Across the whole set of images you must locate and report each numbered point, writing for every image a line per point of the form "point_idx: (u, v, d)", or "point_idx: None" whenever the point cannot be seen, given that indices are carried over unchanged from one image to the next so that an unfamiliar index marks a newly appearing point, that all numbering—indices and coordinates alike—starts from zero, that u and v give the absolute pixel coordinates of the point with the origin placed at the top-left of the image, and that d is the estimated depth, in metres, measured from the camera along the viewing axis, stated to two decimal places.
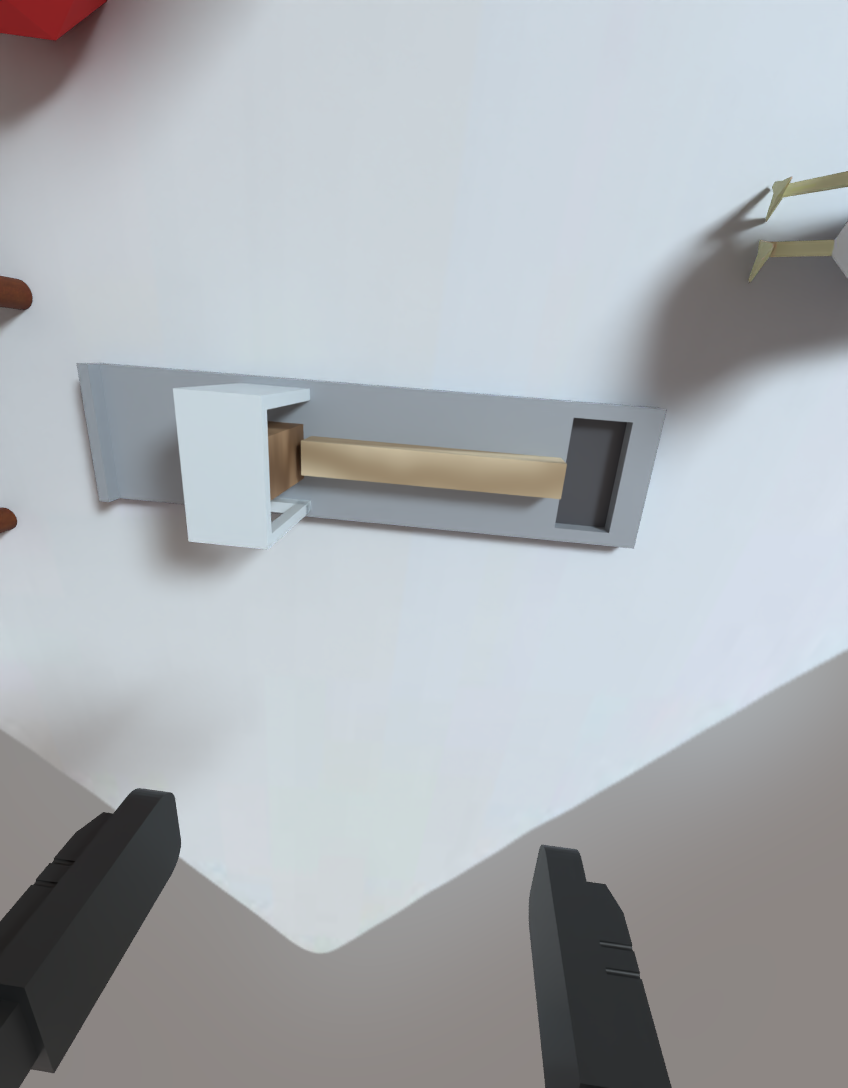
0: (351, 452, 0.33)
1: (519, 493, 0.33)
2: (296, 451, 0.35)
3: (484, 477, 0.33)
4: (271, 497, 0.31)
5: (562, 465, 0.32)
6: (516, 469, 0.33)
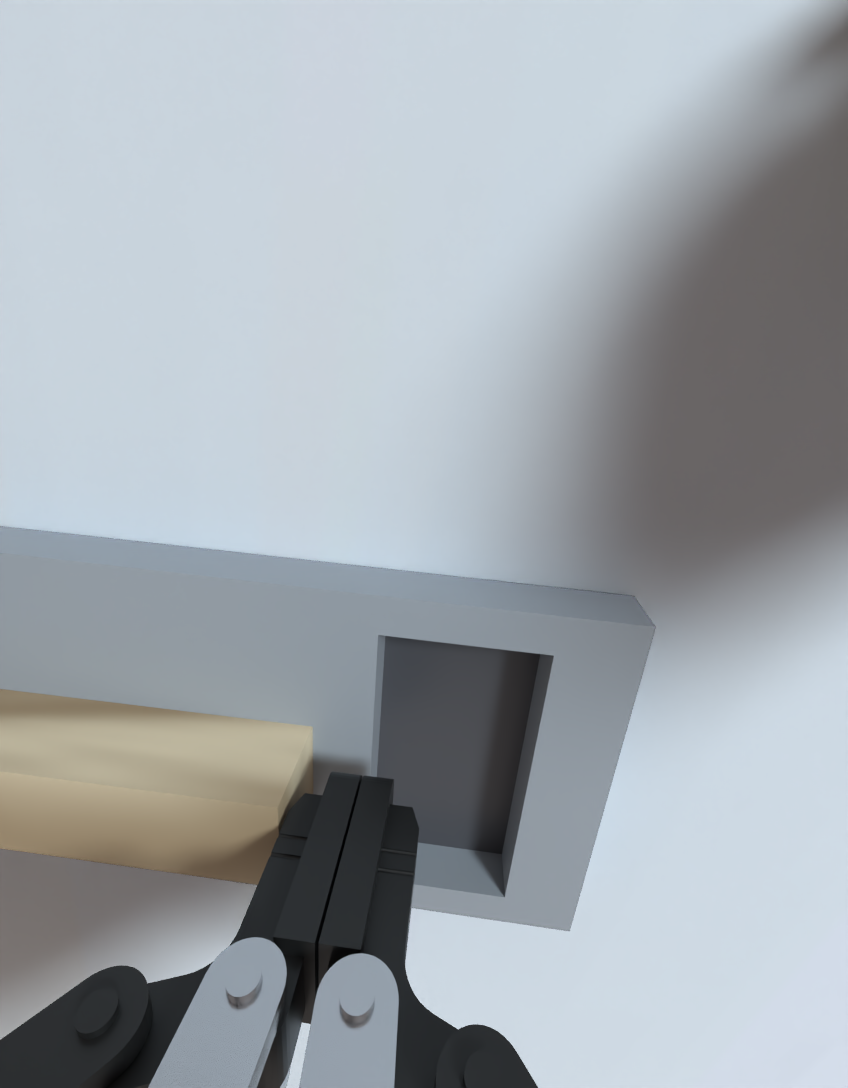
0: None
1: (159, 865, 0.11)
2: None
3: (46, 823, 0.11)
4: None
5: (264, 809, 0.10)
6: (130, 810, 0.10)
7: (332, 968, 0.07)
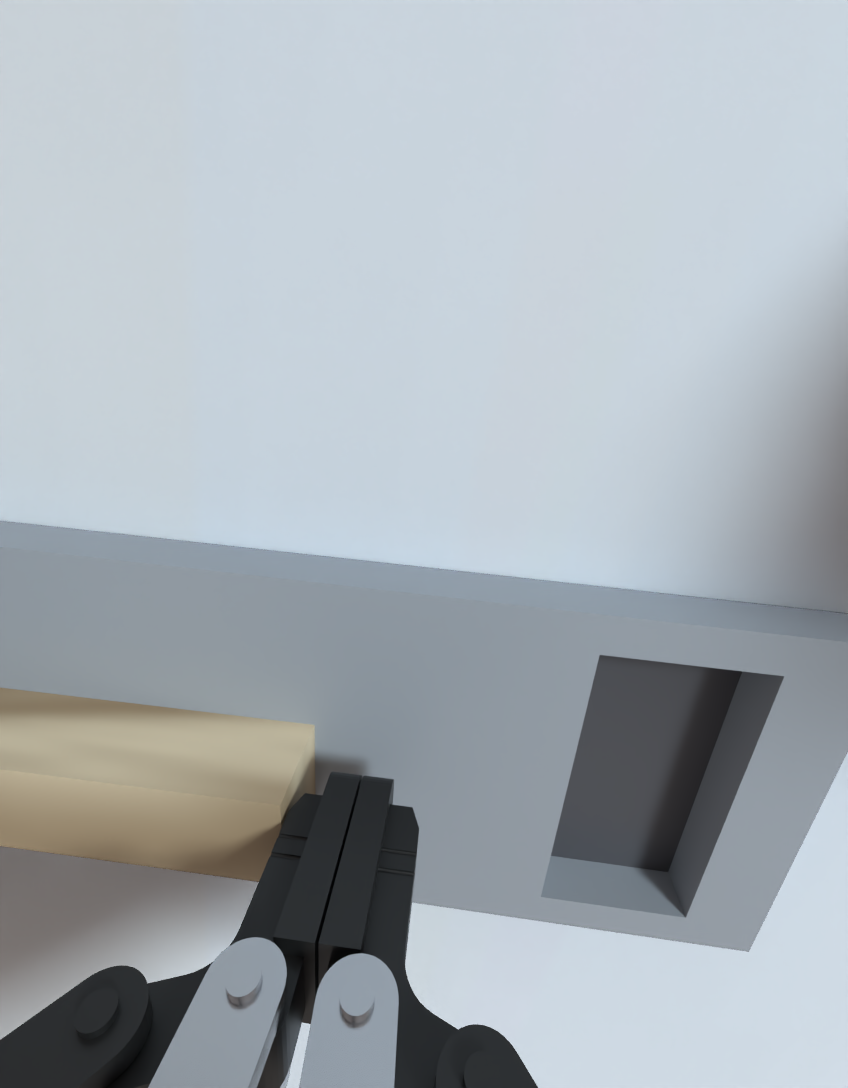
0: None
1: (162, 863, 0.11)
2: None
3: (49, 822, 0.11)
4: None
5: (267, 807, 0.10)
6: (133, 807, 0.10)
7: (332, 968, 0.07)
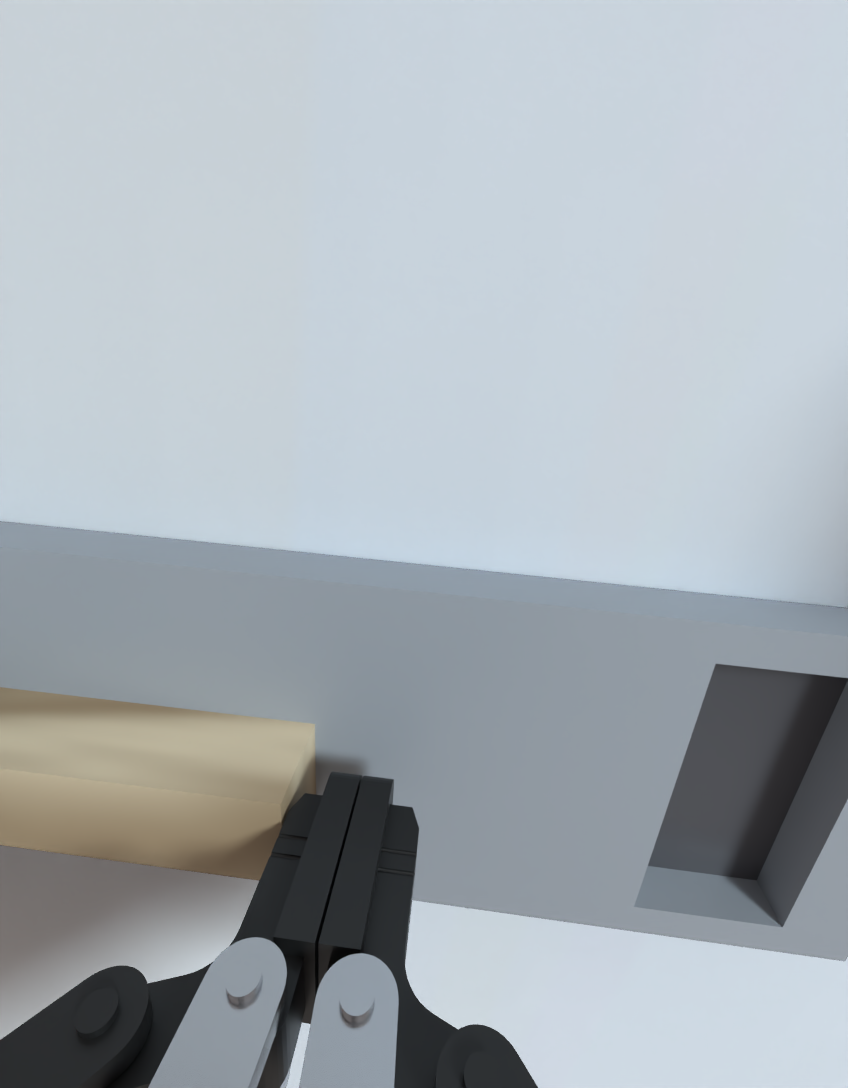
0: None
1: (163, 862, 0.11)
2: None
3: (51, 821, 0.11)
4: None
5: (267, 806, 0.10)
6: (134, 807, 0.11)
7: (332, 968, 0.07)
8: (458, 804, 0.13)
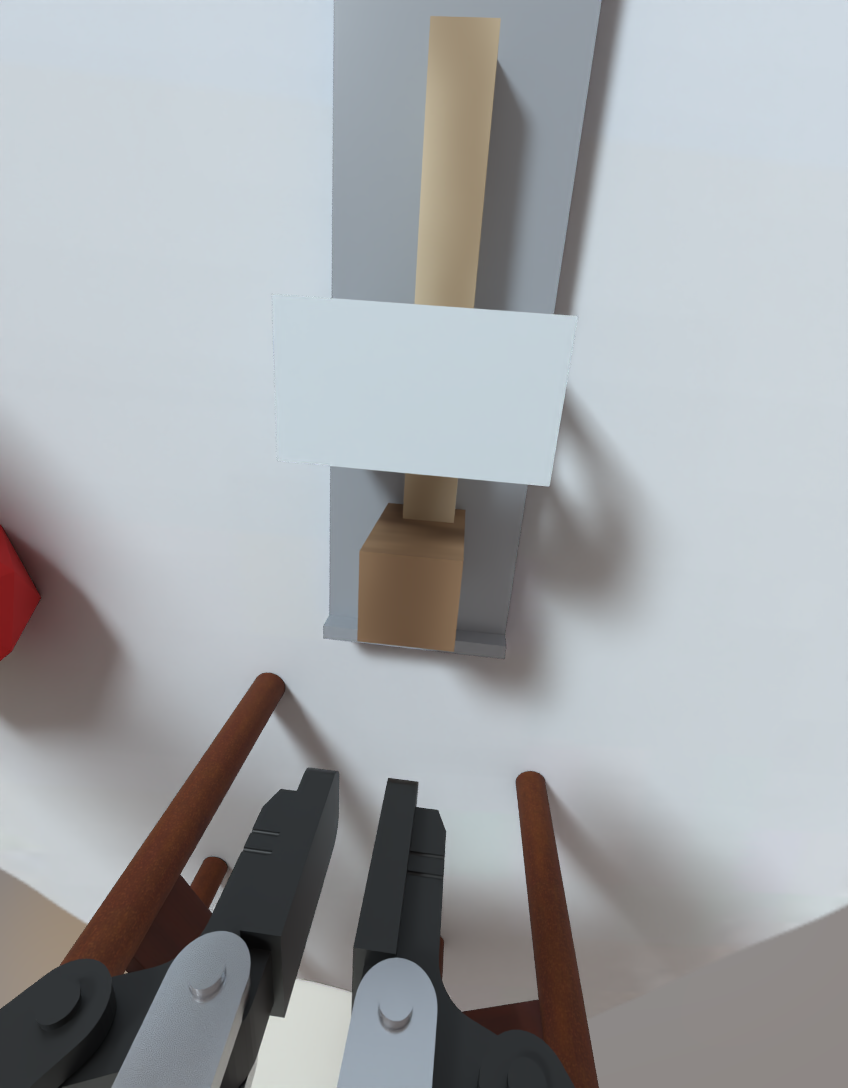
0: None
1: (487, 120, 0.18)
2: None
3: (457, 201, 0.18)
4: (459, 554, 0.19)
5: (432, 26, 0.17)
6: (440, 133, 0.18)
7: (369, 973, 0.07)
8: None
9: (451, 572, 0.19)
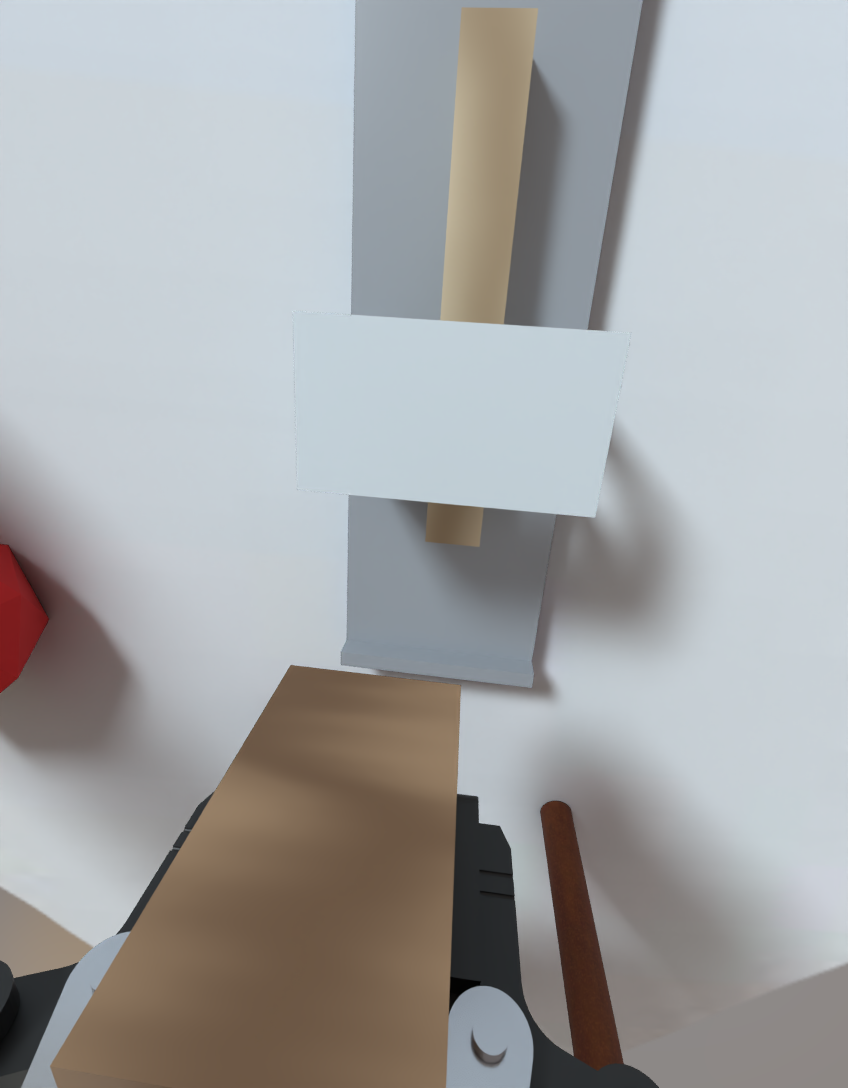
0: None
1: (522, 119, 0.16)
2: (348, 718, 0.10)
3: (487, 206, 0.17)
4: (431, 1049, 0.05)
5: (464, 18, 0.16)
6: (471, 133, 0.17)
7: (457, 1002, 0.07)
8: None
9: None
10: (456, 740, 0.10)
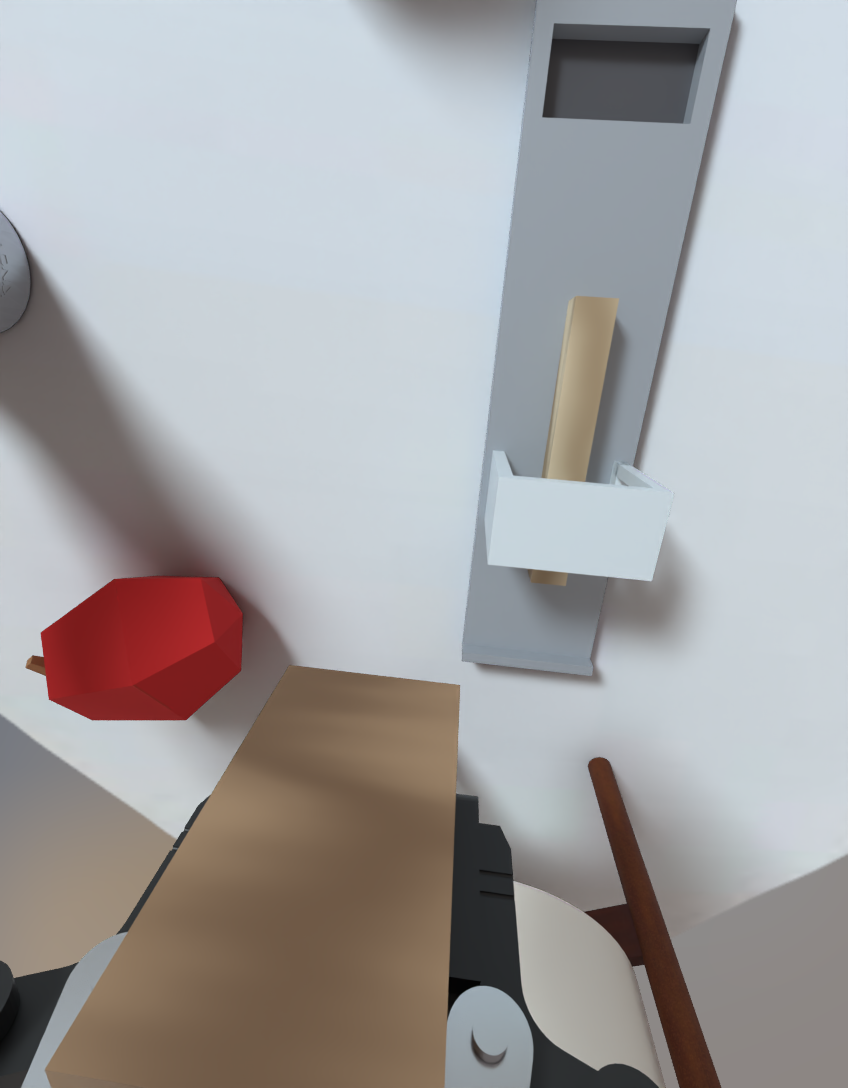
0: None
1: (607, 351, 0.29)
2: (346, 719, 0.10)
3: (584, 394, 0.30)
4: (429, 1052, 0.05)
5: (577, 301, 0.28)
6: (577, 357, 0.29)
7: (457, 1002, 0.07)
8: (615, 230, 0.29)
9: None
10: (455, 740, 0.10)
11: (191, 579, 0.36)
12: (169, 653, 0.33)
